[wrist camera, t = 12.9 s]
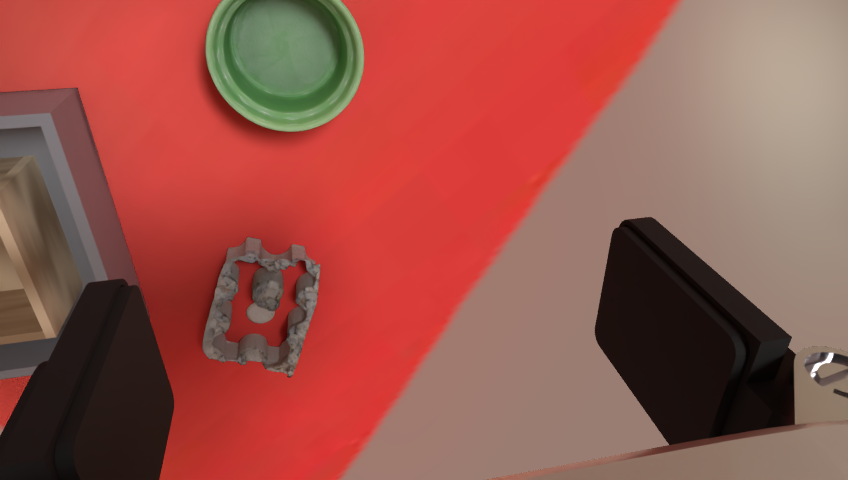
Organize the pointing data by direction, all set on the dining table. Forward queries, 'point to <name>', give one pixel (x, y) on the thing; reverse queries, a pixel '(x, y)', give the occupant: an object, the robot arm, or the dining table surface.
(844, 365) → the robot arm
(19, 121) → the grey tote
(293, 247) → the egg carton
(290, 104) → the ramekin
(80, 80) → the dining table surface
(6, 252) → the pine crate
